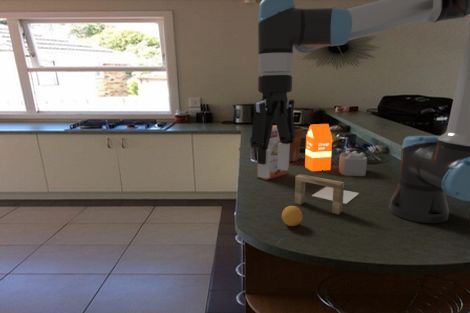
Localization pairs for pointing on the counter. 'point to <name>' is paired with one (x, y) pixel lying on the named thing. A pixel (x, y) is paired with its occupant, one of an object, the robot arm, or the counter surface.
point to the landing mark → (328, 194)
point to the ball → (292, 216)
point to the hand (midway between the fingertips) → (273, 172)
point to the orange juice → (318, 147)
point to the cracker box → (274, 155)
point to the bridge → (337, 185)
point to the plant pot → (296, 144)
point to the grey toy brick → (352, 163)
